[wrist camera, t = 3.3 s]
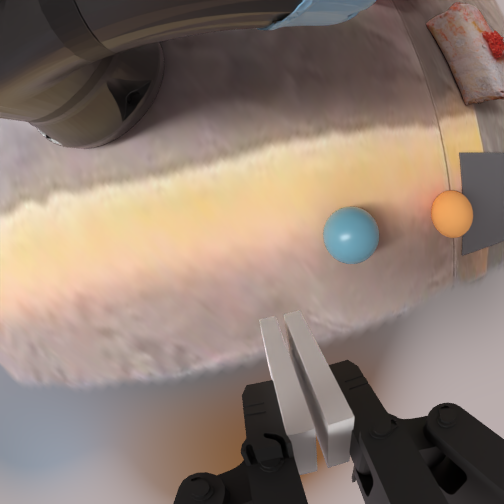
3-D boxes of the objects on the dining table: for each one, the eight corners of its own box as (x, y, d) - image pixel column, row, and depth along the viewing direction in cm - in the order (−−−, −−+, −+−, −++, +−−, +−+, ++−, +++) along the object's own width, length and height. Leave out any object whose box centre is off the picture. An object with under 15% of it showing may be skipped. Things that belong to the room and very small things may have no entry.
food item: (415, 17, 22) (459, -8, 13) (447, 16, 22) (489, -3, 12) (460, 108, 26) (513, 101, 17) (486, 98, 26) (534, 93, 16)
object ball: (423, 235, 30) (451, 247, 25) (421, 190, 29) (451, 196, 23) (452, 228, 30) (480, 238, 25) (451, 186, 29) (481, 191, 24)
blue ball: (319, 259, 30) (338, 278, 24) (312, 207, 28) (332, 216, 23) (365, 249, 30) (390, 264, 25) (361, 199, 28) (387, 206, 23)
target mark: (461, 255, 32) (462, 255, 32) (459, 152, 28) (460, 152, 27) (509, 237, 32) (510, 238, 32) (508, 153, 28) (509, 153, 28)
